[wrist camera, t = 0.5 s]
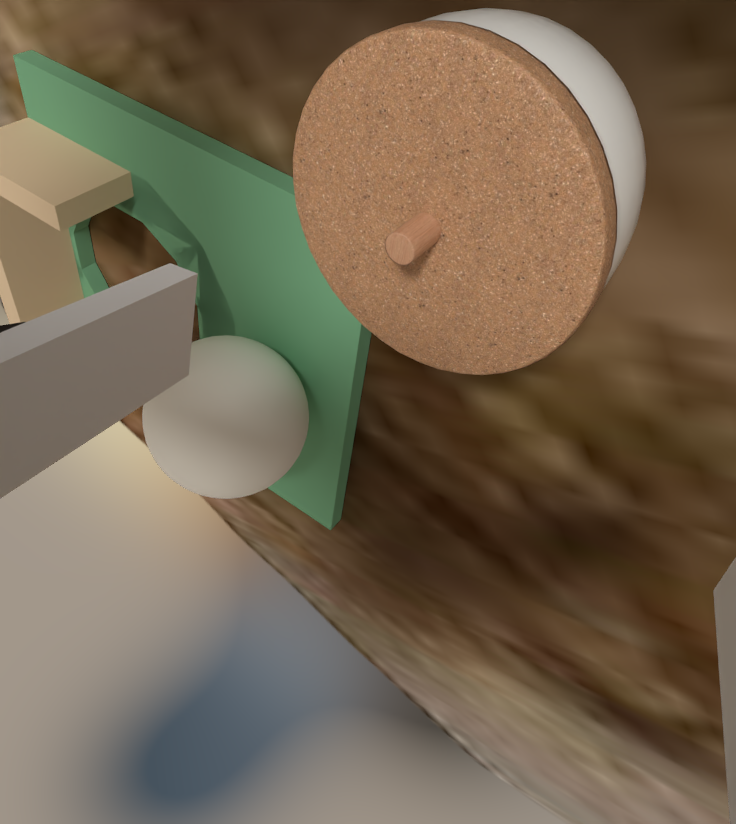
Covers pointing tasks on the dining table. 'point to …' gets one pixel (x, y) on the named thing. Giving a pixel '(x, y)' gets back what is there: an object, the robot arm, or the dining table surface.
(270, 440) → the ball
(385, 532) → the dining table surface
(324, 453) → the green
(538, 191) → the lidded jar
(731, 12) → the dining table surface
